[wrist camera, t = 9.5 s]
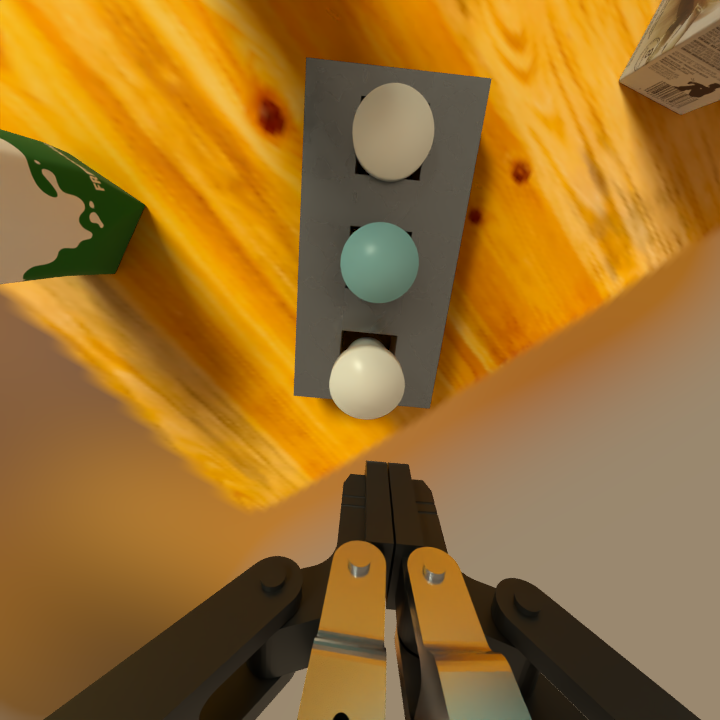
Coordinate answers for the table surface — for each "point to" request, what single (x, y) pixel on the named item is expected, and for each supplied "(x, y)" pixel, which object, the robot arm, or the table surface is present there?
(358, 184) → the socket strip
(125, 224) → the milk carton
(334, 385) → the ivory plug
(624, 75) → the coffee box
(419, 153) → the ivory plug
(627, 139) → the table surface
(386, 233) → the plug teal
